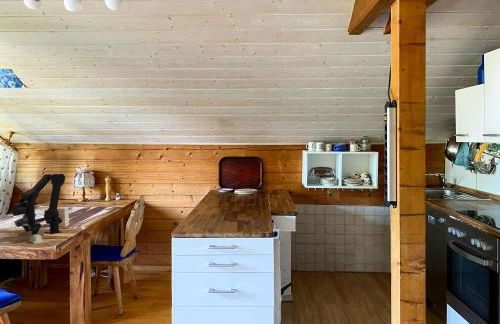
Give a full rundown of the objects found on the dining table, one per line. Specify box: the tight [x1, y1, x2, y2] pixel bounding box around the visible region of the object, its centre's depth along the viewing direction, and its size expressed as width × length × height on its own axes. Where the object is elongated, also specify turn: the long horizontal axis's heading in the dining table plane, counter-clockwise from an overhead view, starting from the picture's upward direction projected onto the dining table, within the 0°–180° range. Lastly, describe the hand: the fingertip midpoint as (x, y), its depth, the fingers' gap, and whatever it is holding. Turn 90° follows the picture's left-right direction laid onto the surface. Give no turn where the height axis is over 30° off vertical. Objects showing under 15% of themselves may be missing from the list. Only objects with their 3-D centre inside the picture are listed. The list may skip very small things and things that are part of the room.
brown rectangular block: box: [16, 229, 45, 243], centre depth 251 cm, size 4×14×5 cm, turn 133°
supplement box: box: [57, 206, 70, 228], centre depth 288 cm, size 8×5×13 cm, turn 81°
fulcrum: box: [30, 234, 44, 244], centre depth 245 cm, size 5×5×4 cm
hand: (30, 237), depth 251 cm, fingers open, 9 cm apart
